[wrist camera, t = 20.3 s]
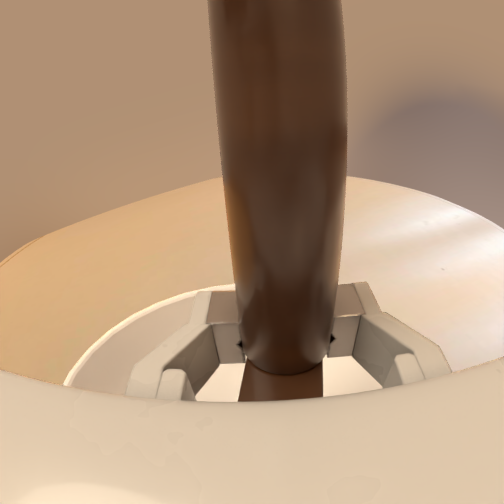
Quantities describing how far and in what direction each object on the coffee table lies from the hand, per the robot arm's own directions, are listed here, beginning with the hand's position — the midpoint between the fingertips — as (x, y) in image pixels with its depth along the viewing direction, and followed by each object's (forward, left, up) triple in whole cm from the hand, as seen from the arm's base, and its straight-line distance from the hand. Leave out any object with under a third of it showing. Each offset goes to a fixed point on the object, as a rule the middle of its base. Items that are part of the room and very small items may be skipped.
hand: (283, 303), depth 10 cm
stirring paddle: (-1, +1, -5) cm, 6 cm away
